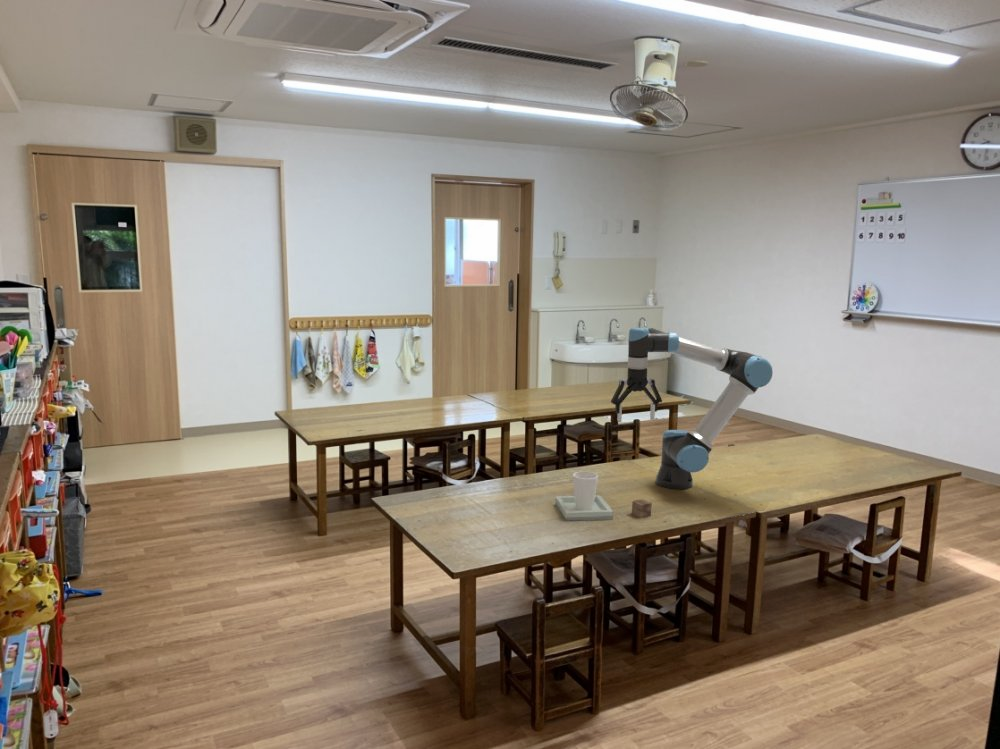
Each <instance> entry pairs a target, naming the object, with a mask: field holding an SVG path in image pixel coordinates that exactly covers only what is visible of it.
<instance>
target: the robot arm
mask: <svg viewBox="0 0 1000 749" xmlns="http://www.w3.org/2000/svg"><path fill="white" fill-rule="evenodd" d="M627 340H628V341H627V342H628V350H627V351H628V357H627V367H628V368H627V379H626V380H623V379H619V384H618V386H617V389H616V391H615V392H614V394H613V396H612V398H611V400H610V403H611V404H613V405H614V406H615V409H614V410H615V411H614V412H615V413H616V414H617V419H616V420H617V422H618V423H622V415H623V413H622V410H623V405H622V403H623V402H624V400H626V398H627V397H628V396H629V394H631V393H632V392H642V391H643V392H644V394H645V395H646V396H647V397H648V398H649V399H650V401H651V402H650V410H649V411H650V413H649V418H650V420H651V421H655V417H656V416H655V415H656V412H658V405H659V403H662V402H663V400H662V397H661V395H660V393H659V391H658V388H657V387H656V380H655V379H653V378H650V379H648V368H647V367H648V365H649V364H648V360H649V357H648V356H649V355H648V354H649V353H668V354H672V355H675V356H679V357H681V358H685V359H688V360H691V361H694V362H698V363H701V364H705V365H706V366H707V365H708V366H711V367H714V368H715V369H716V370H717V371H719V372H722V373H724V374H727V375H729V377H728V380H729V383H728V384H727V386H726V387H725V388H724V389H723V391H722V392H721V394H720V395H719V397H717V399H716V400H715V402H713V404H712V406H711V407H710V408H709V410H708V411H707V412H706V413H705V415H704V416H703V418H702V419H701V420H700V422H699V423H698V424H697V425H696V426H695V428H694V430H683V429H668V430H664V432H663V434H662V439H661V440H662V445H661V446H662V447H661V459H660V460H661V463H660V466H659V469H658V472H657V473H656V477H655V484H657V485H659V486H660V487H664V488H667V489H674V490H685V489H690V488H691V487H693V484H694V483H693V479H694V478H693V477H692V476H693V475H692V473H698V472H701V471H702V470H703V469H704V468H706V467H707V466H708V463H709V460H710V457H709V456H710V453H711V452H712V450H713V442H714V441H715V440H716V438H717V437H718V435H719V434H720V433H721V431H722V430H724V428H725V426H726V425H727V423H729V421H730V420H731V419H732V417H733V415H735V413H736V412H737V410H738V409H739V408H740V406H741V405H742V404H743V402H744V401H745V400H746V399H747V397H748V396H750V395H751V396H752V395H754V394H755V393H756V392H757V390H759V388H763V387H766V386H767V385H768V384H769V383H770V382H771V380H772V378H773V366H772V365H771V364H772V363H770V362H769V361H768V359H766V358H764V357H763V356H761V355H756V354H753V353H749V352H746V351H741V350H740V351H739V350H733V349H729V348H726V347H723V348H719V347H718V348H717V347H714V346H711V345H708V344H704V343H702V342H698V341H694V340H692V339H687V338H685V337H681V336H679V334H678V333H677V332H670V331H669V332H665V331H661V330H659V329H656V328H653V327H648V328H646V327H632V328H630V329H629V332H628V339H627ZM626 385H627V387H626V388H625V390H624V391H623V389H624V387H625V386H626ZM647 385H649V386H650V388H651V390H652V392H653V394H652V393H651V391H650V390H649V389H648V388H647V387H646V386H647ZM653 395H654V396H655V397H654V396H653Z"/></svg>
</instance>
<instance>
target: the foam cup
mask: <svg viewBox="0 0 1000 749" xmlns="http://www.w3.org/2000/svg"><path fill="white" fill-rule="evenodd" d="M572 482H573V493H574V495H573V496H575V505H576V509H577V510H580V511H591V510H592V509H593V505H594V499H595V495H597V494H596V493H597V492H596V491H597V487H598V483H599V474H597V473H595V472H594V471H593V472H592V471H584V470H583V471H576V472H573V474H572Z"/></svg>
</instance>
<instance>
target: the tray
mask: <svg viewBox="0 0 1000 749" xmlns="http://www.w3.org/2000/svg"><path fill="white" fill-rule="evenodd" d="M554 504H555V505H556V507H557V509H558V511H559V513H560V514H561V515H562V517H563V519H564V521H566V522H569V521H570V522H571V521H596V520H597V521H598V520H599V521H600V520H601V521H602V520H603V521H604V520H613V519H614V510H613V509H611V507H610V506H609V504H608V503H607V502H606V501H605V499H604V498H603V497H602V496H601V495H599V494H598V495H597V494H595V499H594V505H593V509H592V510H591V511H580V510H577V509H576V505H575V495H570V496H568V495H565V496H564V495H563V496H560V495H559V496H555V503H554Z"/></svg>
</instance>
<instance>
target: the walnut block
mask: <svg viewBox="0 0 1000 749" xmlns="http://www.w3.org/2000/svg"><path fill="white" fill-rule="evenodd" d="M631 502H632V503H631V514H632V515H633V516H636V517H638V518H640V519H642V518H646V517H647V518H648V517H650V516H652V504H653V503H652V502H650V501H648V500H647V499H646V500H645V499H644V498H641V499H636V500H632V501H631Z"/></svg>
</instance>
